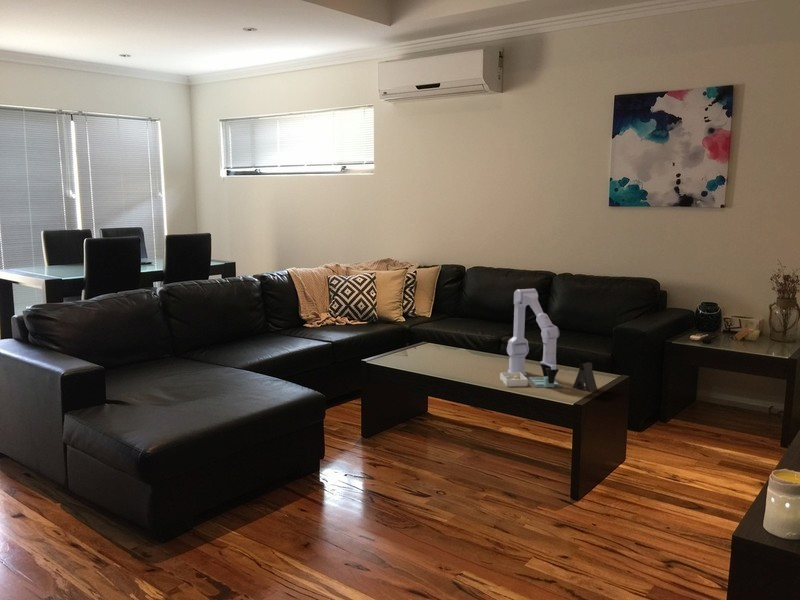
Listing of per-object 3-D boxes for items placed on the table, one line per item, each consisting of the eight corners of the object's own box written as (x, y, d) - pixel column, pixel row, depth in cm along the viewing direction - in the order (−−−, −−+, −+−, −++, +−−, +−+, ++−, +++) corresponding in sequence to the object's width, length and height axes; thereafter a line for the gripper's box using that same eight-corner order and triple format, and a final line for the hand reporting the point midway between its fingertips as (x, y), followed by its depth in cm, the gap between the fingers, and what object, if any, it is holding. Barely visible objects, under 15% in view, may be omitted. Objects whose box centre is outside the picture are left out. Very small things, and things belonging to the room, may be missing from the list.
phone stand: (572, 388, 311) (573, 362, 309) (580, 385, 315) (581, 360, 313) (589, 392, 304) (590, 366, 302) (597, 389, 308) (598, 364, 306)
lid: (528, 377, 328) (528, 369, 327) (550, 377, 328) (550, 369, 328) (538, 387, 311) (538, 378, 310) (560, 386, 312) (561, 378, 311)
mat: (525, 377, 329) (525, 377, 329) (551, 377, 330) (551, 376, 330) (535, 387, 312) (535, 387, 312) (563, 386, 313) (563, 386, 313)
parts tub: (500, 379, 326) (500, 372, 326) (520, 378, 327) (520, 372, 327) (506, 386, 314) (506, 379, 313) (527, 386, 314) (527, 379, 314)
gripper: (536, 349, 318) (536, 377, 320) (545, 356, 303) (544, 385, 305) (551, 348, 318) (550, 376, 320) (561, 355, 304) (560, 385, 306)
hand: (548, 381), depth 313 cm, fingers open, 7 cm apart
